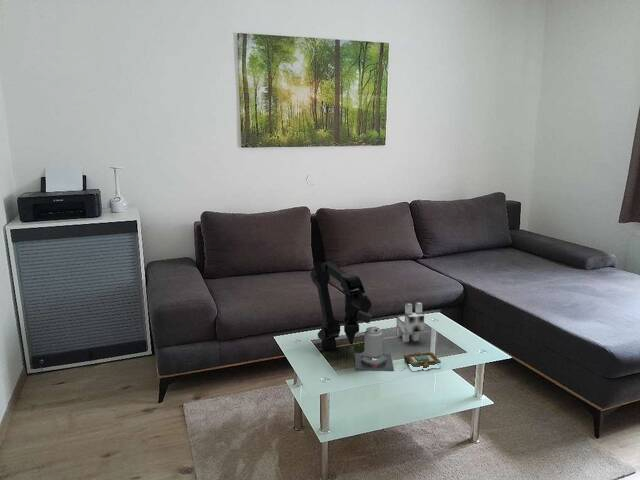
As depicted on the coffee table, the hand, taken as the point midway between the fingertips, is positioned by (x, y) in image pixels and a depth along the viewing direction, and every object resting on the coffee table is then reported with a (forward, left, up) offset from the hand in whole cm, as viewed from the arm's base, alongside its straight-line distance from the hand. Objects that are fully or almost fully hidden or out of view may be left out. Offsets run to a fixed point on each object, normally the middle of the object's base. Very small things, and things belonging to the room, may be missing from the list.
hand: (351, 339), depth 210 cm
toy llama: (+28, +26, -11) cm, 40 cm away
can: (+10, 0, -7) cm, 12 cm away
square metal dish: (+10, 0, -10) cm, 14 cm away
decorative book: (+28, -3, -11) cm, 30 cm away
